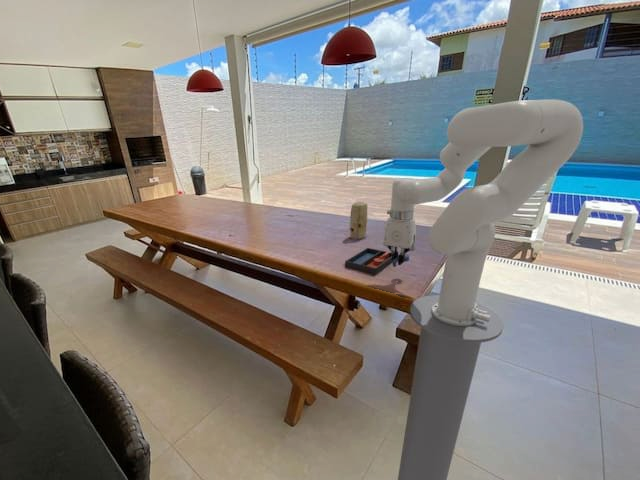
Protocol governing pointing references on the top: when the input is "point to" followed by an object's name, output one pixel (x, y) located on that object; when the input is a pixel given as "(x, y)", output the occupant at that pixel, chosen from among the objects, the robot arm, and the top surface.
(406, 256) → the blue spoon
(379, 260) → the terracotta spoon
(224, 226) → the top surface
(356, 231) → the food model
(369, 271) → the sorting tray
